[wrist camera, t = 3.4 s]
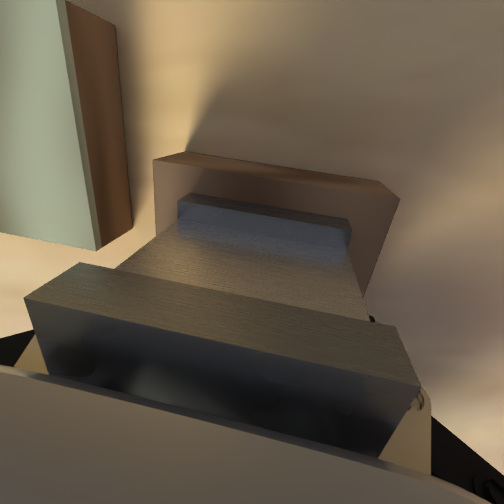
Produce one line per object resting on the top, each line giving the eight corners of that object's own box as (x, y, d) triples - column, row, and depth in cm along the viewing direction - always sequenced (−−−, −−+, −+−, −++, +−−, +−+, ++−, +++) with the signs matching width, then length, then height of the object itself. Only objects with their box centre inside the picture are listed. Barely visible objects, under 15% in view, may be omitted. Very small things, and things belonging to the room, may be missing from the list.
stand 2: (378, 181, 12) (400, 199, 9) (328, 333, 16) (333, 376, 13) (184, 151, 13) (152, 159, 10) (183, 303, 17) (160, 337, 14)
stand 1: (114, 25, 11) (54, -6, 8) (132, 228, 15) (96, 251, 12) (-74, 5, 12) (-183, -28, 9) (-9, 201, 16) (-72, 218, 13)
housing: (347, 218, 10) (421, 386, 4) (307, 355, 13) (309, 569, 7) (190, 192, 10) (23, 297, 4) (188, 329, 14) (91, 503, 7)
